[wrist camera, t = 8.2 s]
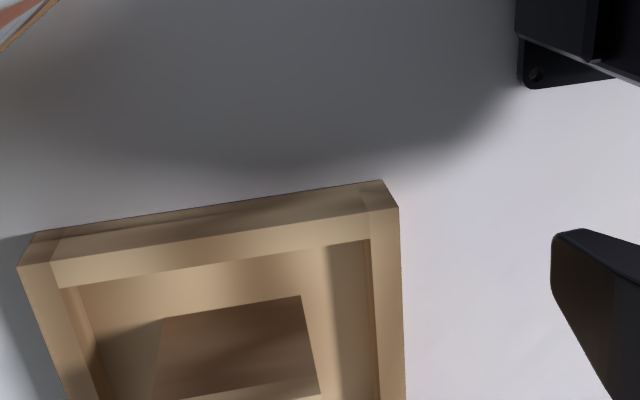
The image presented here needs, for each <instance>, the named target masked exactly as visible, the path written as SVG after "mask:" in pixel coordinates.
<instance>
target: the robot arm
mask: <svg viewBox="0 0 640 400" xmlns="http://www.w3.org/2000/svg"><path fill="white" fill-rule="evenodd" d="M514 31H515V32H516V33H517V34H518V35H519V46H518V63H517V79H518V81H519V82H520V84H522V85H524V86H525V87H527V88H529V89H543V88H550V87H557V86H564V85H571V84H578V83H585V82H592V81H600V80H607V79H614V78H618V79H621V80H623V81H626V82H628V83H631V84H633V85H636V86H638V87H640V0H516V5H515V23H514ZM536 67H538V73H537V75H536V77H535V78H533V79H530V77H529V75H530V72H531V71H532V70H533V69H534V68H536ZM550 285H551V290H552V294H553V296H554V298H555V300H556V302H557V304H558V306H559V308H560V309H561V311H562V313H563V315H564V317H565V318H566V320H567V322H568V324H569V326H570V327H571V329H572V331H573V333H574V334H575V336H576V338H577V340H578V342H579V343H580V345H581V347H582V349H583V351H584V352H585V354H586V356H587V358H588V360H589V361H590V363H591V365H592V367H593V369H594V370H595V372H596V374H597V376H598V377H599V379H600V381H601V382H602V384H603V386H604V387H605V389H606V390H607V392H608V393H609V395H610V396H611V398H612V399H613V400H640V245H637V244H634V243H630V242H627V241H624V240H621V239H618V238H614V237H611V236H608V235H605V234H601V233H598V232H595V231H592V230H589V229H585V228H579V229H574V230H570V231H565V232H561V233H557V234H556V235H555V236H554V237H553V239H552V243H551V268H550Z"/></svg>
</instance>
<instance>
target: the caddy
mask: <svg viewBox="0 0 640 400" xmlns="http://www.w3.org/2000/svg"><path fill="white" fill-rule="evenodd" d="M16 269H17V272H18V275H19V277H20V280H21V282H22V285H23V287H24V290H25V292H26V295H27V297H28V300H29V302H30V305H31V307H32V310H33V312H34V315H35V318H36V320H37V323H38V325H39V328H40V330H41V333H42V335H43V338H44V340H45V343H46V345H47V348H48V350H49V353H50V356H51V358H52V361H53V363H54V366H55V368H56V371H57V373H58V376H59V378H60V381H61V383H62V386H63V388H64V391H65V393H66V396H67V399H68V400H152V394H153V387H154V380H155V373H156V367H157V360H158V353H159V346H160V340H161V333H162V326H163V319H164V318H166V317H172V316H178V315H184V314H190V313H196V312H202V311H208V310H214V309H220V308H226V307H232V306H238V305H244V304H250V303H256V302H262V301H268V300H273V299H279V298H285V297H291V296H297V295H301V299H302V304H303V309H304V314H305V319H306V323H307V328H308V333H309V338H310V343H311V348H312V353H313V357H314V362H315V367H316V372H317V377H318V382H319V386H320V391H321V397H322V400H406V384H405V357H404V331H403V304H402V277H401V251H400V224H399V206H398V205H397V203H396V202H395V200H394V198H393V197H392V195H391V193H390V192H389V190H388V188H387V187H386V185H385V184H384V182H383V180H377V181H370V182H364V183H357V184H351V185H344V186H337V187H331V188H324V189H318V190H311V191H304V192H298V193H291V194H285V195H278V196H271V197H265V198H258V199H252V200H245V201H238V202H232V203H225V204H219V205H212V206H205V207H199V208H192V209H186V210H179V211H172V212H166V213H159V214H153V215H146V216H140V217H133V218H126V219H120V220H113V221H107V222H100V223H93V224H87V225H80V226H74V227H67V228H60V229H54V230H47V231H41V232H36V233H35V235H34V237H33V238H32V240H31V242H30V244H29V245H28V247H27V249H26V250H25V252H24V254H23V255H22V257H21V259H20V260H19V262H18V264H17V265H16Z"/></svg>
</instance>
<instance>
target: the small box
mask: <svg viewBox="0 0 640 400" xmlns="http://www.w3.org/2000/svg"><path fill="white" fill-rule="evenodd" d="M58 1H59V0H0V53H1V52H2V51H3V50H4V49H5V48H6V47H8V46H9V45H10V44H11V43H12V42H13V41H14V40H16V39H17V38H18V37H19V36H20V35H21V34H22V33H23V32H25V31H26V30H27V29H28V28H29V27H30V26H31V25H32V24H34V23H35V22H36V21H37V20H38V19H39V18H40V17H41V16H43V15H44V14H45V13H46V12H47V11H48V10H49V9H50V8H51V7H53V6H54V5H55V4H56V3H57V2H58Z"/></svg>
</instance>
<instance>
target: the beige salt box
mask: <svg viewBox="0 0 640 400" xmlns="http://www.w3.org/2000/svg"><path fill="white" fill-rule="evenodd" d="M152 400H322V397H321V391H320V386H319V382H318V377H317V372H316V367H315V362H314V357H313V353H312V348H311V343H310V338H309V333H308V328H307V323H306V319H305V314H304V309H303V304H302V299H301V295H297V296H291V297H285V298H279V299H273V300H268V301H262V302H256V303H250V304H244V305H238V306H232V307H226V308H220V309H214V310H208V311H202V312H196V313H190V314H184V315H178V316H172V317H166V318H164V319H163V326H162V333H161V340H160V346H159V353H158V360H157V367H156V373H155V380H154V387H153V394H152Z"/></svg>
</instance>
